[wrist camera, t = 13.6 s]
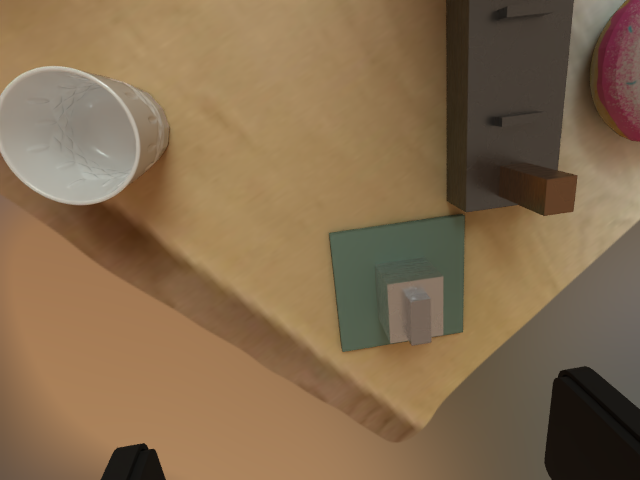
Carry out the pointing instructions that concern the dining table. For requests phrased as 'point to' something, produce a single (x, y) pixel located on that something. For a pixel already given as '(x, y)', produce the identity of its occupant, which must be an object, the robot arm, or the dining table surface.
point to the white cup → (79, 133)
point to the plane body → (507, 104)
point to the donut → (619, 71)
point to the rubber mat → (388, 246)
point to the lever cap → (410, 300)
